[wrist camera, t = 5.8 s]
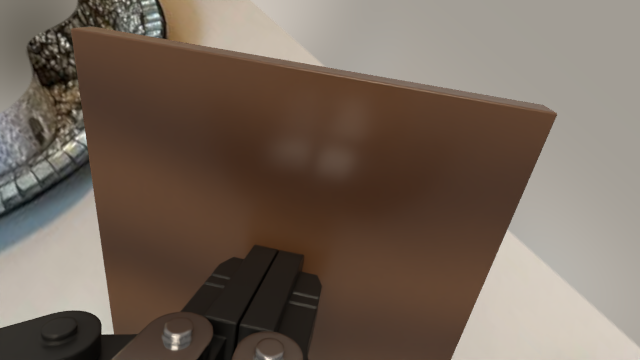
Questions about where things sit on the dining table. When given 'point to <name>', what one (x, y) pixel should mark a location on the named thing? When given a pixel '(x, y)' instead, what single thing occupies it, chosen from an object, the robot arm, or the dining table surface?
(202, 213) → the lid
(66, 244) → the dining table surface
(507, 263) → the dining table surface
